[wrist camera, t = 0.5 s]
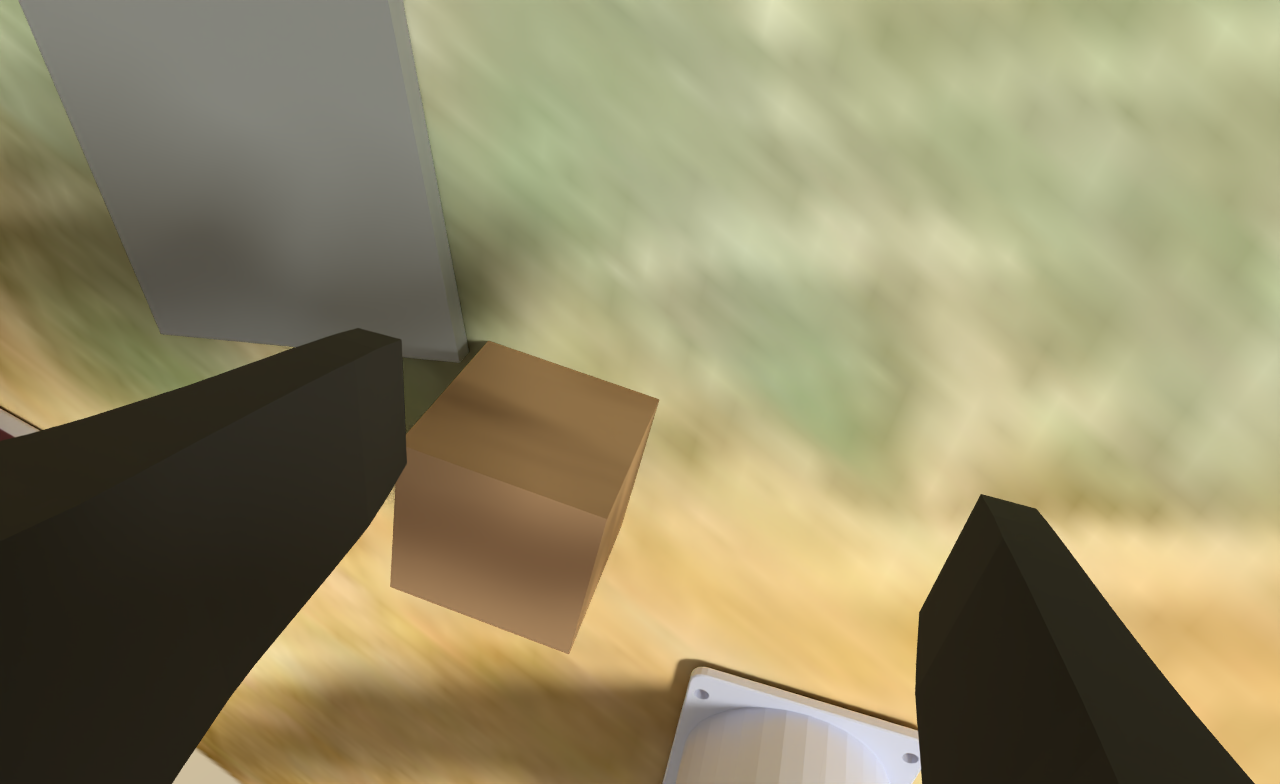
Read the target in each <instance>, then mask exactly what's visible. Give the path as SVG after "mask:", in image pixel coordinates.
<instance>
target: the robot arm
mask: <svg viewBox="0 0 1280 784" xmlns="http://www.w3.org/2000/svg"><path fill="white" fill-rule="evenodd" d="M406 465H407V451H406V428H405V405H404V382H403V359H402V339H398V338H394V337H391V336H387V335H383V334H379V333H376V332H372V331H368V330H364V329H361V328H356V329H352V330H348V331H344V332H341V333H337V334H334V335H331V336H328V337H325V338H322V339H319V340H316V341H313V342H310V343H307V344H304V345H301V346H298V347H295V348H293V349H290V350H287V351H284V352H281V353H278V354H276V355H273V356H270V357H267V358H265V359H262V360H259V361H256V362H253V363H250V364H248V365H245V366H242V367H239V368H236V369H233V370H231V371H228V372H225V373H222V374H219V375H217V376H214V377H211V378H208V379H205V380H202V381H200V382H197V383H194V384H191V385H188V386H185V387H182V388H179V389H176V390H173V391H170V392H166V393H163V394H160V395H157V396H154V397H151V398H148V399H144V400H141V401H138V402H135V403H132V404H129V405H126V406H122V407H119V408H116V409H113V410H110V411H107V412H104V413H100V414H97V415H94V416H91V417H88V418H84V419H81V420H77V421H74V422H70V423H67V424H63V425H60V426H56V427H52V428H49V429H45V430H41V431H38V432H34V433H30V434H26V435H22V436H18V437H14V438H10V439H6V440H2V441H0V784H172V783H173V781H174V780H175V778H176V777H177V775H178V773H179V772H180V770H181V769H182V767H183V766H184V765H185V763H186V762H187V760H188V759H189V757H190V755H191V754H192V753H193V751H194V750H195V748H196V747H197V745H198V744H199V742H200V741H201V739H202V738H203V736H204V735H205V734H206V732H207V731H208V729H209V728H210V726H211V725H212V723H213V722H214V720H215V719H216V717H217V716H218V714H219V713H220V711H221V710H222V708H223V707H224V705H225V704H226V702H227V701H228V700H229V698H230V697H231V695H232V694H233V693H234V691H235V690H236V689H237V688H238V686H239V685H240V684H241V682H242V681H243V680H244V678H245V677H246V676H247V674H248V673H249V672H250V670H251V669H252V668H253V667H254V665H255V664H256V663H257V662H258V660H259V659H260V658H261V657H262V656H263V654H264V653H265V652H266V651H267V649H268V648H269V647H270V646H271V645H272V643H273V642H274V641H275V640H276V639H277V637H278V636H279V635H280V634H281V633H282V631H283V630H284V629H285V628H286V627H287V625H288V624H289V623H290V622H291V621H292V619H293V618H294V617H295V616H296V615H297V613H298V612H299V611H300V610H301V608H302V607H303V606H304V605H305V604H306V602H307V601H308V600H309V599H310V598H311V596H312V595H313V594H314V593H315V592H316V590H317V589H318V588H319V587H320V586H321V584H322V583H323V582H324V581H325V580H326V578H327V577H328V576H329V575H330V574H331V572H332V571H333V570H334V569H335V567H336V566H337V565H338V564H339V562H340V561H341V560H342V559H343V558H344V556H345V555H346V554H347V553H348V551H349V550H350V549H351V548H352V546H353V545H354V544H355V543H356V542H357V540H358V539H359V538H360V537H361V535H362V534H363V533H364V531H365V530H366V529H367V528H368V526H369V525H370V523H371V522H372V520H373V519H374V517H375V516H376V514H377V512H378V511H379V509H380V508H381V506H382V505H383V503H384V502H385V500H386V498H387V497H388V495H389V493H390V492H391V490H392V488H393V487H394V485H395V483H396V482H397V480H398V478H399V476H400V475H401V473H402V471H403V470H404V468H405V466H406ZM915 696H916V711H917V724H918V730H914V729H911V728H908V727H904V726H901V725H898V724H895V723H891V722H888V721H885V720H881V719H878V718H875V717H871V716H868V715H865V714H861V713H858V712H855V711H851V710H848V709H845V708H841V707H838V706H835V705H831V704H828V703H825V702H821V701H818V700H815V699H811V698H808V697H805V696H801V695H798V694H795V693H791V692H788V691H785V690H782V689H778V688H775V687H772V686H768V685H765V684H762V683H758V682H755V681H752V680H748V679H745V678H742V677H738V676H735V675H732V674H728V673H725V672H722V671H718V670H715V669H712V668H708V667H697V668H695V669H693V671H692V673H691V676H690V680H689V684H688V688H687V692H686V695H685V699H684V703H683V707H682V711H681V714H680V718H679V722H678V726H677V730H676V733H675V737H674V741H673V745H672V749H671V752H670V756H669V760H668V764H667V768H666V771H665V775H664V779H663V783H662V784H912V783H913V782H914V780H915V778H916V777H917V775H918V773H919V772H920V770H921V774H922V784H1255V783H1254V782H1253V781H1252V780H1251V779H1250V778H1249V777H1248V775H1247V774H1246V773H1245V772H1244V771H1243V770H1242V768H1241V767H1240V766H1239V765H1238V764H1237V763H1236V761H1235V760H1234V759H1233V758H1232V757H1231V756H1230V754H1229V753H1228V752H1227V751H1226V750H1225V749H1224V747H1223V746H1222V745H1221V744H1220V743H1219V741H1218V740H1217V739H1216V738H1215V737H1214V736H1213V734H1212V733H1211V732H1210V731H1209V730H1208V729H1207V727H1206V726H1205V725H1204V724H1203V723H1202V722H1201V720H1200V719H1199V718H1198V717H1197V716H1196V715H1195V713H1194V712H1193V711H1192V710H1191V708H1190V707H1189V706H1188V705H1187V703H1186V702H1185V701H1184V700H1183V699H1182V697H1181V696H1180V695H1179V694H1178V692H1177V691H1176V690H1175V689H1174V687H1173V686H1172V685H1171V684H1170V683H1169V681H1168V680H1167V679H1166V678H1165V676H1164V675H1163V674H1162V672H1161V671H1160V670H1159V669H1158V667H1157V666H1156V665H1155V664H1154V662H1153V661H1152V660H1151V659H1150V657H1149V656H1148V655H1147V653H1146V652H1145V651H1144V650H1143V648H1142V647H1141V646H1140V644H1139V643H1138V642H1137V640H1136V639H1135V638H1134V637H1133V635H1132V634H1131V633H1130V631H1129V630H1128V629H1127V627H1126V626H1125V625H1124V623H1123V622H1122V621H1121V620H1120V618H1119V617H1118V616H1117V614H1116V613H1115V612H1114V610H1113V609H1112V608H1111V606H1110V605H1109V604H1108V602H1107V601H1106V600H1105V598H1104V597H1103V596H1102V594H1101V593H1100V592H1099V590H1098V589H1097V588H1096V586H1095V585H1094V584H1093V582H1092V581H1091V580H1090V578H1089V577H1088V575H1087V574H1086V573H1085V571H1084V570H1083V569H1082V567H1081V566H1080V565H1079V563H1078V562H1077V561H1076V559H1075V558H1074V557H1073V555H1072V554H1071V553H1070V551H1069V550H1068V549H1067V547H1066V546H1065V545H1064V543H1063V542H1062V541H1061V539H1060V538H1059V537H1058V535H1057V534H1056V533H1055V531H1054V530H1053V529H1052V528H1051V526H1050V525H1049V524H1048V522H1047V521H1046V520H1045V519H1044V518H1043V516H1042V515H1041V514H1040V513H1039V511H1038V510H1037V509H1035V508H1031V507H1028V506H1024V505H1020V504H1016V503H1013V502H1009V501H1005V500H1001V499H998V498H994V497H990V496H986V495H983V494H981V495H980V497H979V499H978V501H977V503H976V505H975V507H974V509H973V510H972V512H971V514H970V516H969V518H968V520H967V522H966V524H965V526H964V528H963V530H962V532H961V534H960V535H959V537H958V539H957V541H956V543H955V545H954V547H953V549H952V551H951V553H950V555H949V557H948V558H947V560H946V562H945V564H944V566H943V568H942V570H941V572H940V574H939V576H938V578H937V580H936V582H935V583H934V585H933V587H932V589H931V591H930V593H929V595H928V597H927V599H926V601H925V603H924V605H923V607H922V608H921V610H920V612H919V626H918V642H917V659H916V686H915Z"/></svg>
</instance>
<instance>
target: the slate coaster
mask: <svg viewBox="0 0 1280 784" xmlns="http://www.w3.org/2000/svg"><path fill="white" fill-rule="evenodd" d="M19 3H20V5H21V7H22V10H23V12H24V14H25V17H26V19H27V21H28V24H29V26H30V28H31V31H32V33H33V36H34V38H35V40H36V43H37V45H38V47H39V50H40V52H41V54H42V57H43V59H44V61H45V64H46V66H47V68H48V71H49V73H50V75H51V78H52V80H53V82H54V85H55V87H56V89H57V92H58V94H59V96H60V99H61V101H62V103H63V106H64V108H65V110H66V113H67V115H68V117H69V120H70V122H71V125H72V127H73V129H74V132H75V134H76V136H77V139H78V141H79V143H80V146H81V148H82V150H83V153H84V155H85V157H86V160H87V162H88V164H89V167H90V169H91V171H92V174H93V176H94V178H95V181H96V183H97V185H98V188H99V190H100V192H101V195H102V197H103V199H104V202H105V204H106V206H107V209H108V211H109V214H110V216H111V218H112V221H113V223H114V225H115V228H116V230H117V232H118V235H119V237H120V239H121V242H122V244H123V246H124V249H125V251H126V253H127V256H128V258H129V260H130V263H131V265H132V267H133V270H134V272H135V274H136V277H137V279H138V281H139V284H140V286H141V288H142V291H143V293H144V295H145V298H146V300H147V303H148V305H149V307H150V310H151V312H152V314H153V317H154V319H155V321H156V324H157V326H158V328H159V331H160V333H161V334H166V335H176V336H187V337H197V338H207V339H218V340H228V341H239V342H249V343H260V344H270V345H280V346H291V347H298V346H301V345H304V344H307V343H310V342H313V341H316V340H319V339H322V338H325V337H328V336H331V335H334V334H337V333H341V332H344V331H348V330H352V329H356V328H361V329H364V330H368V331H372V332H376V333H379V334H383V335H387V336H391V337H394V338H398V339H402V357H406V358H416V359H427V360H437V361H447V362H458V363H460V362H461V361H462V359H463V358H464V357H465V356H466V355H467V354H468V353H469V349H468V344H467V338H466V333H465V328H464V322H463V317H462V312H461V306H460V301H459V296H458V290H457V285H456V280H455V275H454V269H453V264H452V259H451V253H450V248H449V243H448V237H447V232H446V227H445V222H444V216H443V211H442V206H441V200H440V195H439V190H438V184H437V179H436V174H435V169H434V163H433V158H432V153H431V147H430V142H429V137H428V131H427V126H426V121H425V115H424V110H423V105H422V100H421V94H420V89H419V84H418V78H417V73H416V68H415V62H414V57H413V52H412V47H411V41H410V36H409V31H408V25H407V20H406V15H405V9H404V4H403V0H19Z"/></svg>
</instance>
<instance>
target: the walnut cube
mask: <svg viewBox="0 0 1280 784" xmlns="http://www.w3.org/2000/svg"><path fill="white" fill-rule="evenodd" d="M658 402H659V399H656V398H654V397H651V396H648V395H645V394H642V393H639V392H636V391H633V390H630V389H627V388H625V387H622V386H619V385H616V384H613V383H610V382H607V381H604V380H601V379H598V378H595V377H593V376H590V375H587V374H584V373H581V372H578V371H575V370H572V369H569V368H566V367H563V366H561V365H558V364H555V363H552V362H549V361H546V360H543V359H540V358H537V357H534V356H532V355H529V354H526V353H523V352H520V351H517V350H514V349H511V348H508V347H505V346H502V345H500V344H497V343H494V342H491V341H488V342H487V343H486V344H485V345H484V346H483V347H482V348H481V350H480V351H479V352H478V353H477V354H476V355H475V356H474V358H473V359H472V360H471V361H470V362H469V363H468V364H467V365H466V367H465V368H464V369H463V370H462V371H461V372H460V373H459V375H458V376H457V377H456V378H455V379H454V380H453V381H452V383H451V384H450V385H449V386H448V387H447V388H446V389H445V390H444V392H443V393H442V394H441V395H440V396H439V397H438V398H437V400H436V401H435V402H434V403H433V404H432V405H431V406H430V408H429V409H428V410H427V411H426V412H425V413H424V414H423V415H422V417H421V418H420V419H419V420H418V421H417V422H416V423H415V425H414V426H413V427H412V428H411V429H410V430H409V431H408V433H407V434H406V451H407V465H406V466H405V468H404V470H403V471H402V473H401V475H400V476H399V478H398V480H397V482H396V485H395V505H394V524H393V544H392V563H391V583H390V587H392V588H395V589H397V590H400V591H403V592H405V593H408V594H411V595H413V596H416V597H419V598H421V599H424V600H426V601H429V602H432V603H434V604H437V605H440V606H442V607H445V608H448V609H450V610H453V611H456V612H458V613H461V614H464V615H466V616H469V617H471V618H474V619H477V620H479V621H482V622H485V623H487V624H490V625H493V626H495V627H498V628H501V629H503V630H506V631H509V632H511V633H514V634H516V635H519V636H522V637H524V638H527V639H530V640H532V641H535V642H538V643H540V644H543V645H546V646H548V647H551V648H554V649H556V650H559V651H561V652H564V653H567V654H569V653H570V650H571V648H572V646H573V643H574V641H575V638H576V636H577V633H578V631H579V628H580V626H581V624H582V621H583V619H584V616H585V614H586V611H587V609H588V606H589V604H590V602H591V599H592V597H593V594H594V592H595V589H596V587H597V584H598V582H599V580H600V577H601V575H602V572H603V570H604V567H605V565H606V562H607V560H608V557H609V555H610V553H611V550H612V548H613V545H614V543H615V540H616V538H617V535H618V533H619V531H620V528H621V525H622V522H623V519H624V515H625V512H626V509H627V505H628V502H629V499H630V495H631V492H632V489H633V485H634V482H635V479H636V475H637V472H638V469H639V466H640V462H641V459H642V456H643V452H644V449H645V446H646V442H647V439H648V436H649V432H650V429H651V426H652V422H653V419H654V416H655V412H656V409H657V406H658Z"/></svg>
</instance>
